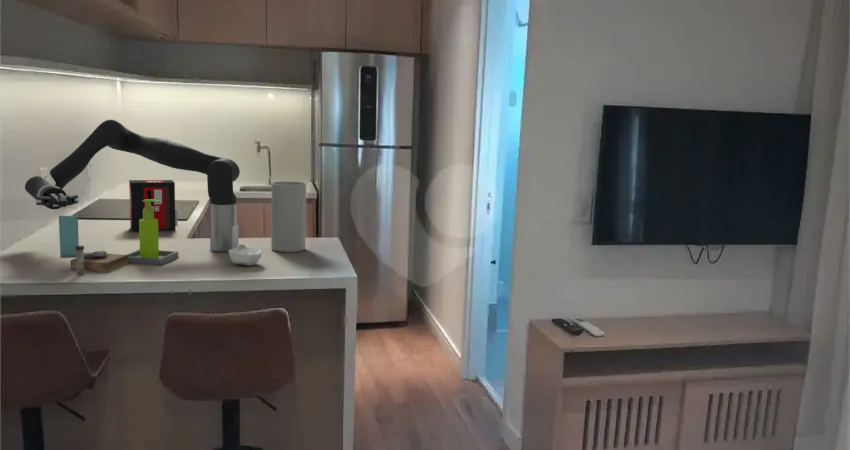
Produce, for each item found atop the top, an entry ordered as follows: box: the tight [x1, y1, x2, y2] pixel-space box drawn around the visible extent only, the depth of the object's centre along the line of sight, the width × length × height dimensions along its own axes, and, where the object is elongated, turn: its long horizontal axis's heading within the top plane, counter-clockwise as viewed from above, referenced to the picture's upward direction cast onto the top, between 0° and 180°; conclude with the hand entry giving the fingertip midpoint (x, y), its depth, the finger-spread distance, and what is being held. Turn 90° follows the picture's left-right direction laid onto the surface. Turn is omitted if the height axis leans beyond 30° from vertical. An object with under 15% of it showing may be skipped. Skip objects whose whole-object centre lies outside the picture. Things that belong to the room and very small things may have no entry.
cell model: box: [228, 243, 262, 267], centre depth 227 cm, size 10×12×7 cm
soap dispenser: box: [138, 199, 160, 259], centre depth 226 cm, size 6×7×20 cm
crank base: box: [69, 245, 129, 276], centre depth 213 cm, size 12×18×9 cm
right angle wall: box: [175, 208, 178, 226], centre depth 297 cm, size 12×12×8 cm
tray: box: [125, 248, 179, 267], centre depth 228 cm, size 14×13×2 cm
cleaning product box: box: [128, 179, 176, 233], centre depth 279 cm, size 16×9×20 cm, turn 117°
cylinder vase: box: [270, 180, 307, 253], centre depth 252 cm, size 12×12×25 cm
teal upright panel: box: [58, 215, 108, 259], centre depth 213 cm, size 13×4×13 cm, turn 108°
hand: (63, 203), depth 214 cm, fingers closed
